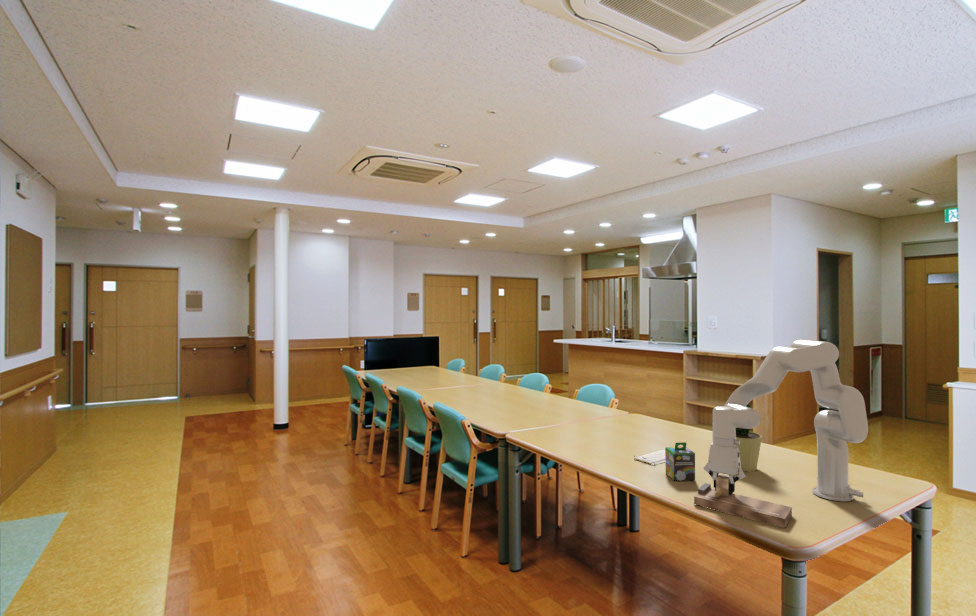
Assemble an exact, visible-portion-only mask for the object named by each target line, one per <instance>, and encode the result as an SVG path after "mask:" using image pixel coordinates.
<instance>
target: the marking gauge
mask: <svg viewBox="0 0 976 616" xmlns="http://www.w3.org/2000/svg"><path fill="white" fill-rule="evenodd" d="M729 483H730V478H729V475H728V474H723V473H719V475H718V476H717V477H716V494H715V496H716V497H717V499H719V496H720V495H723V496H727V497H728V496H729Z"/></svg>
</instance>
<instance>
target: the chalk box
mask: <svg viewBox="0 0 976 616" xmlns="http://www.w3.org/2000/svg"><path fill="white" fill-rule="evenodd" d="M664 449H665V461H666V462H665V475H667V476H668V477H669V476H670V477H671V478H672V479H673V480H672V479H671V478H670V477H669V478H670V479H671V480H672V481H674V480H675V481H674V482H679V481H678V480H695V481H696V452H694V451H693V450H691V449H690V448H689V447H687V442H680V441H679V442H675V445H674V446H667V447H665V448H664ZM676 480H677V481H676Z"/></svg>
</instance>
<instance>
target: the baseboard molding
mask: <svg viewBox="0 0 976 616" xmlns="http://www.w3.org/2000/svg"><path fill="white" fill-rule="evenodd" d="M633 457H634V458H633V459H636V460H635V461H637V460H639V461H638V462H640V461H642V462H641V463H643V462H646V463H645V464H647V463H649V464H648V465H650V464H652V465H651V466H653V465H654V466H657V465H656V464H658V465H660V464H659V463H661V462H664V463H666V462H665V448H664V449H660V450H656V451H654V452H649V453H646V454H643V455H639V456H635V455H633ZM661 464H662V463H661Z"/></svg>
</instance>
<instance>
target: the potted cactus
mask: <svg viewBox="0 0 976 616" xmlns="http://www.w3.org/2000/svg"><path fill="white" fill-rule="evenodd" d="M746 407H749V408H752V406H751V403H750V404H749V403H748V404H747V405H746ZM762 437H763V436H762V435H761V434H760V433H758V432H755V431H754V432H753V431H751V429H745V428H736V439H737V440H738V441H740V445H739V444H736V446H738V448H739V453H740V463H741V469H742V471H747V472H746V473H751V472H750V471H753V472H756V471H757V468H758V461H759V456H760V451H761V450H760V449H761V445H762V444H761V443H762ZM755 470H756V471H755Z"/></svg>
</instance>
